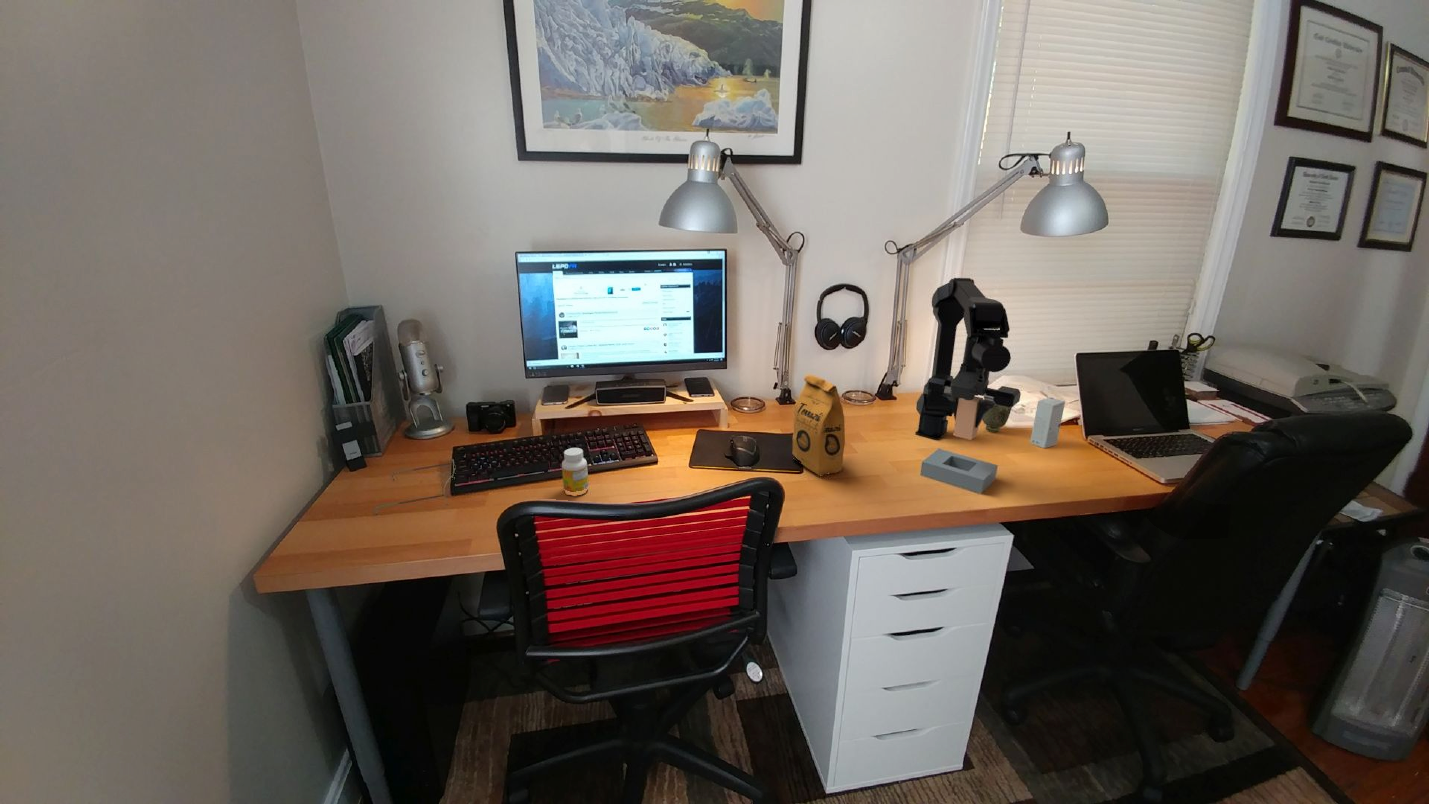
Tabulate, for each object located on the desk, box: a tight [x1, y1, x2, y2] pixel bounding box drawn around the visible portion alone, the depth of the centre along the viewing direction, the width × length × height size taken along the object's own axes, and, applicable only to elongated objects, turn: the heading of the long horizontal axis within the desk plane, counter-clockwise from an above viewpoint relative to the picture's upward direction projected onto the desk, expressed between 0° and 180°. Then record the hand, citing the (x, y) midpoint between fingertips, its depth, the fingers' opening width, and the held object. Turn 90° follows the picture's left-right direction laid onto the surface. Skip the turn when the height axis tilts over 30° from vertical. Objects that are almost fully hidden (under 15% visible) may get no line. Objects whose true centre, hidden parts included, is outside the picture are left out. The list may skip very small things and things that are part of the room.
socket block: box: [919, 448, 999, 495], centre depth 140 cm, size 14×10×4 cm
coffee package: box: [791, 373, 846, 476], centre depth 142 cm, size 10×12×22 cm
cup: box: [982, 404, 1013, 433], centre depth 166 cm, size 8×7×8 cm
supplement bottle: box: [561, 447, 589, 492], centre depth 131 cm, size 5×5×10 cm
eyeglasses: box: [374, 458, 456, 514], centre depth 131 cm, size 16×15×5 cm
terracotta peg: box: [953, 395, 984, 441], centre depth 136 cm, size 4×4×9 cm
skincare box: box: [1029, 397, 1066, 449], centre depth 158 cm, size 6×4×12 cm
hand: (966, 424), depth 137 cm, fingers closed on terracotta peg, 4 cm apart
